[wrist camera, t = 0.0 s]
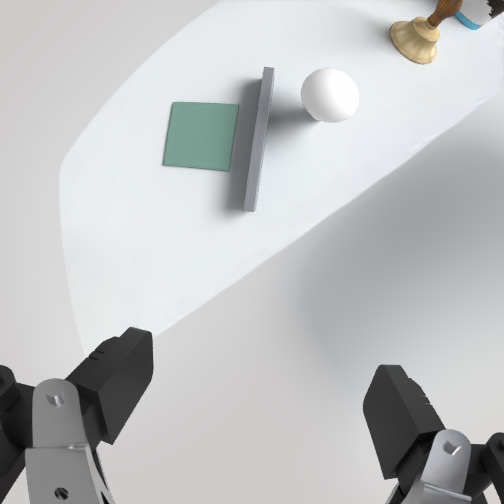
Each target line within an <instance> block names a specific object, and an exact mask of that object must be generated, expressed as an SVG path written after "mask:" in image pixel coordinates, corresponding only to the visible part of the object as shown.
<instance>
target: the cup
mask: <svg viewBox="0 0 504 504" xmlns="http://www.w3.org/2000/svg"><path fill="white" fill-rule="evenodd" d="M502 12H504V0H463V3H462V6H461V8H460V10H459V11H458V12H457V13H456V14H455V16H456V17H457V18H458V19H459V20H460V22H462V23H463V24H464V25H465V26H467V27H468V28H470V29H472V30H477V29H478V28H480V27H481V26H483V25H484V24H486V23H487V22H489V21H490V20H492V19H493V18H495V17H496V16H498V15H499V14H501V13H502Z"/></svg>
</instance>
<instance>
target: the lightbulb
mask: <svg viewBox="0 0 504 504" xmlns="http://www.w3.org/2000/svg"><path fill="white" fill-rule="evenodd" d="M301 99H302V102H303V105H304V106H305V108H306V110H307V111H308V112H309V113H310V114H311V116H312V117H313V118H314V119H316V120H318V121H323V122H328V123H336V122H341V121H343V120H346V119H347V118H349V117H350V116H351V115H352V114H353V113H354V112H355V110H356V108H357V105H358V101H359V95H358V90H357V87H356V85H355V83H354V82H353V80H352V79H351V78H350V77H349V76H348V75H346V74H345V73H343V72H341V71H339V70H336V69H331V68H325V69H320V70H317V71H314V72H313V73H311V74H310V75H309V76H308V77H307V78H306V79H305V81H304V83H303V85H302V89H301Z"/></svg>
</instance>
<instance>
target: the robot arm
mask: <svg viewBox="0 0 504 504" xmlns="http://www.w3.org/2000/svg"><path fill="white" fill-rule="evenodd" d="M152 375H153V340H152V333H151V332H149V331H145V330H141V329H138V328H134V327H129V328H128V329H127V330H126V331H125V332H124V333H123V334H122V335H121V336H120V337H116V336H115V337H112V338H110V339H108V340H106V341H103V342H102V343H101V344H100V345H99V346H98V347H97V348H96V349H95V351H93V352H92V353H91V354H90V355H89V357H87V358H86V359H85V360H84V361H83V362H82V363H81V364H80V365H79V366H78V367H77V368H76V369H75V370H74V371H73V372H72V373H71V374H70V375H69V376H68V377H67V378H66V379H65V380H63V379H48V380H45V381H43V382H41V383H40V384H38V386H36V387H33V386H29V385H25V384H21V383H17V382H16V380H15V377H14V374H13V372H12V370H11V369H9V368H8V367H6V366H3V365H0V504H1V503H2V502H3V500H4V498H5V496H6V495H7V494H8V492H9V490H10V489H11V487H12V486H13V484H14V483H15V481H16V479H17V478H18V476H19V475H20V473H21V472H22V470H23V469H24V467H25V466H26V474H27V484H28V491H29V498H30V504H115V502H114V500H113V498H112V495H111V493H110V490H109V487H108V484H107V481H106V478H105V475H104V472H103V468H102V465H101V461H100V458H99V454H98V451H97V448H96V447H97V446H98V444H99V443H100V441H104V442H106V443H109V444H111V445H113V443H114V442H115V440H116V438H117V437H118V435H119V433H120V432H121V430H122V428H123V427H124V425H125V423H126V421H127V420H128V418H129V417H130V415H131V413H132V412H133V410H134V408H135V407H136V405H137V403H138V402H139V400H140V398H141V396H142V395H143V393H144V392H145V390H146V389H147V387H148V385H149V384H150V382H151V379H152ZM425 396H426V395H425V393H424V392H423V390H422V389H421V387H420V386H419V385H418V384H417V383H416V382H414V381H413V380H412V379H411V378H408V376H407V375H406V373H405V371H404V370H403V368H402V367H401V366H400V365H380V366H379V367H378V368H377V370H376V372H375V375H374V377H373V380H372V382H371V384H370V387H369V389H368V391H367V393H366V396H365V398H364V402H363V412H364V416H365V419H366V422H367V425H368V428H369V431H370V434H371V437H372V440H373V444H374V447H375V450H376V453H377V456H378V460H379V463H380V466H381V470H382V473H383V477H384V479H385V480H386V479H392V478H398V481H399V482H398V483H397V485H396V486H395V487H394V489H393V491H392V493H391V494H390V496H389V498H388V500H387V502H386V503H385V504H488V503H487V501H486V498H485V496H484V493H483V491H484V490H485V489H486V488H487V487H489V486H490V485H491V483H493V485H494V487H495V489H496V491H497V493H498V496H499V498H500V500H501V504H504V433H501V432H499V433H495V434H493V435H492V436H491V438H490V439H489V440H488V441H487V443H486V444H470V441H469V440H468V438H467V437H466V436H465V435H464V434H462V433H460V432H458V431H456V430H452V429H446V428H445V427H444V425H443V423H442V421H441V420H440V418H439V416H438V415H437V413H436V411H435V410H434V408H433V406H432V405H430V401H429V400H428V398H427V397H425Z"/></svg>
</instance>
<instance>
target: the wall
mask: <svg viewBox="0 0 504 504" xmlns="http://www.w3.org/2000/svg"><path fill="white" fill-rule="evenodd" d="M273 84H274V68H269V67H264V71H263V77H262V84H261V90H260V97H259V104H258V110H257V117H256V124H255V130H254V137H253V144H252V151H251V158H250V165H249V172H248V179H247V186H246V194H245V201H244V208H243V210H244V211H251V212H254V211H255V210H256V203H257V196H258V189H259V182H260V175H261V168H262V161H263V154H264V147H265V140H266V133H267V126H268V119H269V112H270V105H271V98H272V91H273Z"/></svg>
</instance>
